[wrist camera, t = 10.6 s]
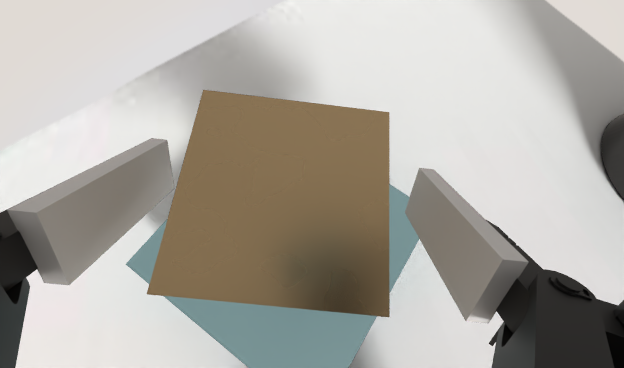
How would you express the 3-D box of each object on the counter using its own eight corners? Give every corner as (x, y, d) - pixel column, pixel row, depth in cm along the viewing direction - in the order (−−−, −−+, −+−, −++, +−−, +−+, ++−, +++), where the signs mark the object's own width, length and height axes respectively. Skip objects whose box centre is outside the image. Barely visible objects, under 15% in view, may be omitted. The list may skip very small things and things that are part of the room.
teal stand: (408, 222, 24) (433, 213, 20) (312, 390, 20) (317, 425, 15) (275, 132, 26) (271, 105, 22) (159, 264, 22) (125, 264, 17)
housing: (334, 201, 20) (389, 112, 8) (328, 284, 18) (389, 317, 6) (257, 193, 19) (203, 89, 8) (242, 276, 18) (146, 294, 6)
